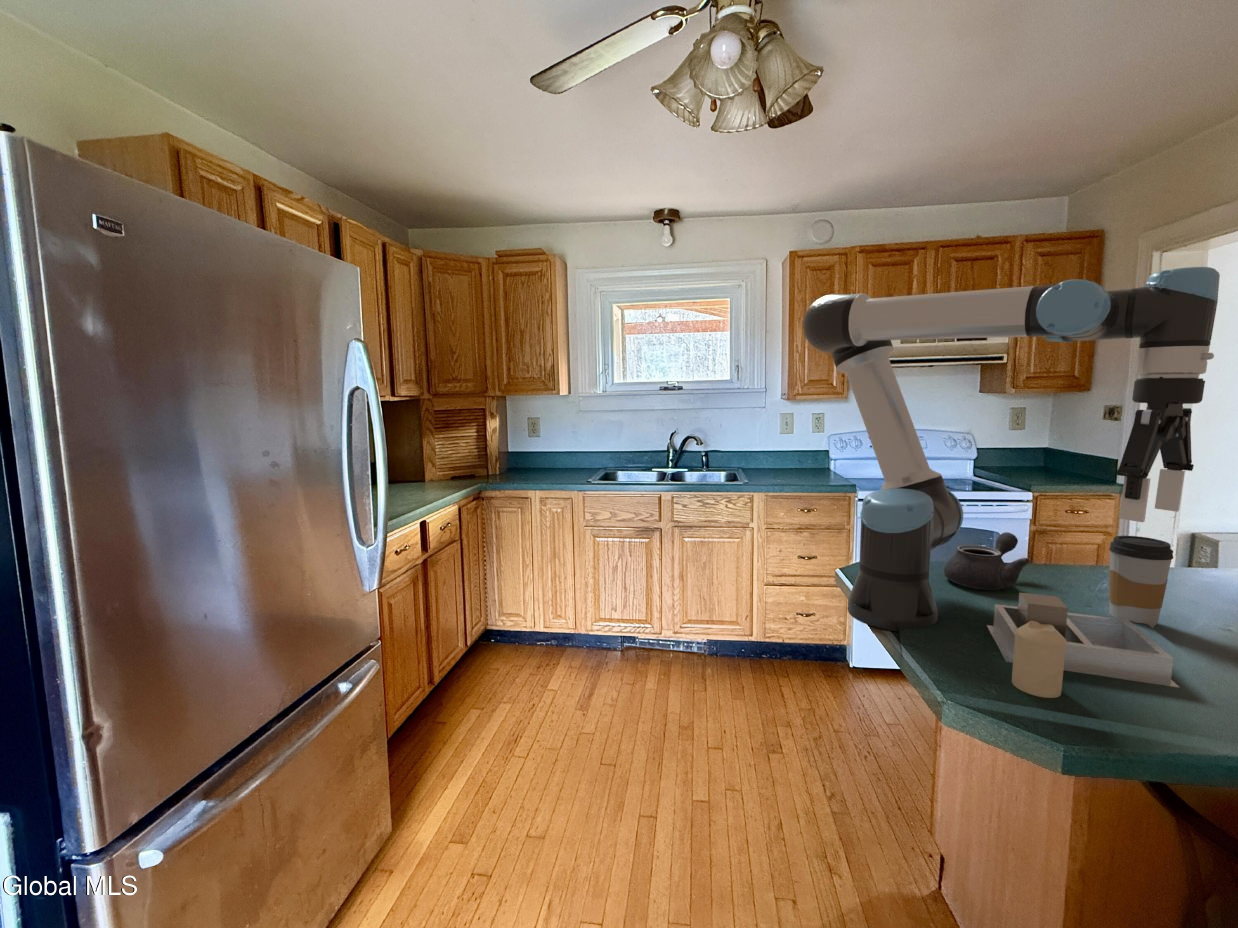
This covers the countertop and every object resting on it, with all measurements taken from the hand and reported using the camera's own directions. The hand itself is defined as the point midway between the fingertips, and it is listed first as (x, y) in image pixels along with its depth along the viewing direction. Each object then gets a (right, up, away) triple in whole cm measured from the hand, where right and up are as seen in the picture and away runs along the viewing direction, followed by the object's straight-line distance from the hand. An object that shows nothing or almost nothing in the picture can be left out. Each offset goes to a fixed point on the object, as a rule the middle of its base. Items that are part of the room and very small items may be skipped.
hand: (1149, 515), depth 85 cm
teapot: (-1, -18, +35) cm, 40 cm away
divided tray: (-12, -23, +1) cm, 25 cm away
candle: (-25, -24, -9) cm, 36 cm away
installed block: (-16, -22, +2) cm, 27 cm away
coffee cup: (+10, -21, +14) cm, 27 cm away
